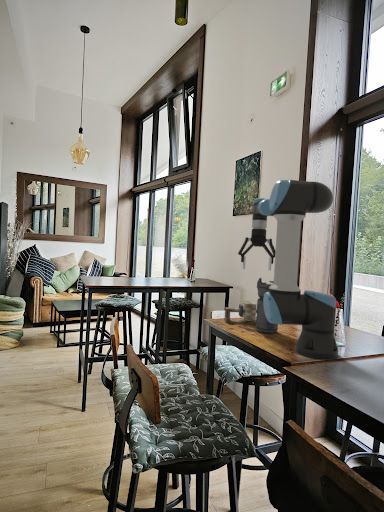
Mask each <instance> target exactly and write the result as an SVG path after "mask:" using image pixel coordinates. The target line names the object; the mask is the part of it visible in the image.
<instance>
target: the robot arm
mask: <svg viewBox="0 0 384 512" xmlns="http://www.w3.org/2000/svg"><path fill="white" fill-rule="evenodd" d="M252 202H253V204H252V218H251V219H252V220H251V222H252V223H251V228H252V229H251V233H250V235H251V236H250V237H248V236H247V237H245V238H244V242H243V244H242V245H241V247H240V248H239V250H238V252H237V254H238V255H239V256H240V257H241V258H240V262H241V263H242V269H243V270H245V269H246V258H247V257H246V256H245V255H247V253H248V252H249V251H251V249H252V248H254V247H259V248H261V247H262V248H263V250H265V252H266V254H268V255H269V257H268V264H267V270H268V271H272V265H274V267H273V268H274V270H273V281H274V283H271V284H272V285H271V286H270V287H269V292H266V293H265V294H264V298H263V306H264V312H265V316H266V318H267V320H268V321H269V322H270V323H274V324H278V325H288V326H290V325H295V326H301V332H300V335H299V336H298V337H299V338H298V339H297V341H296V345H295V352H297V353H298V354H299V355H302V356H306V357H309V358H313V359H318V360H319V359H320V360H333V359H334V360H335V359H337V358H338V357H339V349H338V345H337V341H336V337H335V329H336V317H337V316H336V314H337V309H338V308H337V298H336V297H335V296H334V295H331V294H327V293H325V292H324V293H323V292H319V291H315V290H308V289H307V290H304V292H303V293H302V292H301V291H302V289H301V288H300V287H299V286H298V275H299V274H298V273H299V272H298V271H299V257H300V244H301V243H300V242H301V226H302V224H301V223H302V221H303V220H304V219H305V218H306V216H307V215H306V214H319V213H323V212H326V211H328V210H329V209H330V208H331V207H332V204H333V203H334V194H333V192H332V190H331V189H330V187H329V186H328V185H326V184H324V183H322V182H318V181H307V180H295V179H280V180H277V181H276V182H275V183H274V185H273V187H272V190H271V192H270V196H269V198H268V199H267V198H263V197H261V198H257V197H256V198H254V199H253V201H252ZM268 217H274V218H275V219H276V234H275V235H276V238H275V246H274V244H273V239H272V238H267V228H268V227H267V226H268V225H267V224H268ZM248 242H251V243H250V244H249V245H248V247H247V248H246V246H247V244H248ZM266 243H268V245H269V247H270V249H269V248H268V247H267V245H266ZM245 248H246V249H245ZM244 249H245V250H244Z"/></svg>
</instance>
